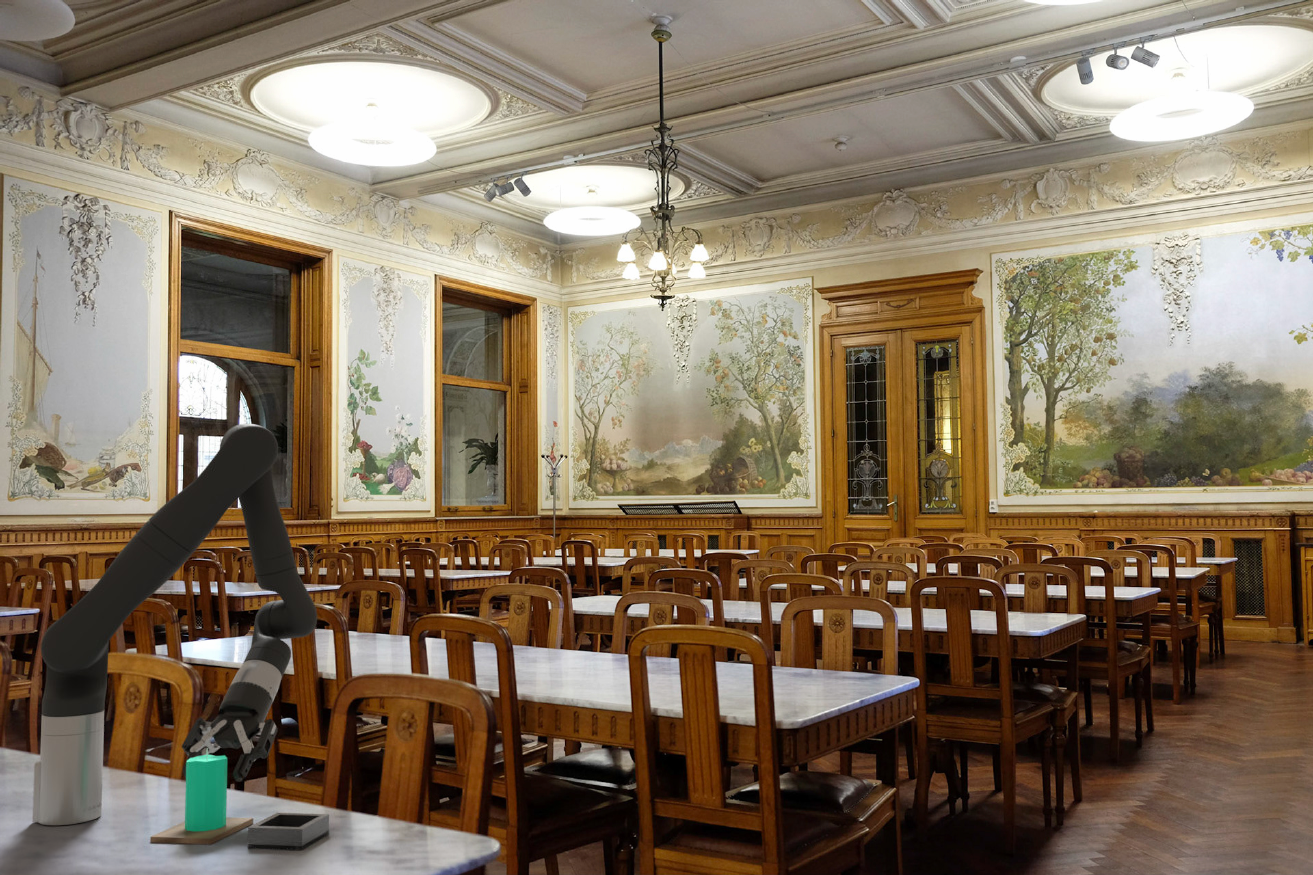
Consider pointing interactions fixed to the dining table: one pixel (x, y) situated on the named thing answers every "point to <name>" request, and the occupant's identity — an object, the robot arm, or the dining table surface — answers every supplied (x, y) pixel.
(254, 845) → the box
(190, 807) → the candle
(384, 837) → the dining table surface
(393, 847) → the dining table surface
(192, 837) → the walnut board
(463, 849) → the dining table surface
